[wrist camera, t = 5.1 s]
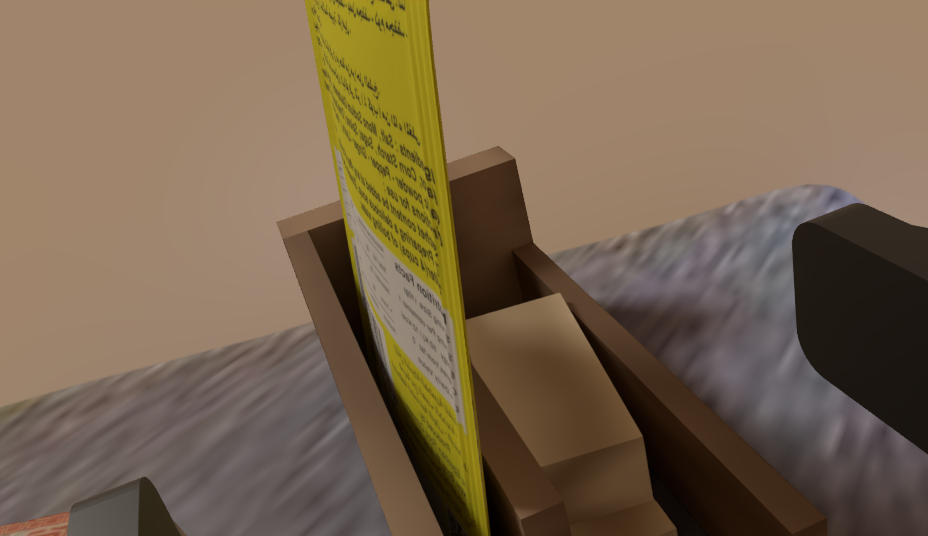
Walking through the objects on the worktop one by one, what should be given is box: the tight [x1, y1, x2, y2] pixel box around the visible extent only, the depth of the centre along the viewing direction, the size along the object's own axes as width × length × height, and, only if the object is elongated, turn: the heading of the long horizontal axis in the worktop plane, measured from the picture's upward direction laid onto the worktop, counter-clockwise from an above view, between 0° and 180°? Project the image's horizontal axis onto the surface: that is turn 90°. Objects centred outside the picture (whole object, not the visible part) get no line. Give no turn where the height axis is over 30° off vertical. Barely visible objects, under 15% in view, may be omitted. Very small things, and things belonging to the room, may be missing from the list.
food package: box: [305, 0, 491, 536], centre depth 24 cm, size 15×1×20 cm, turn 18°
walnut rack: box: [277, 146, 827, 536], centre depth 29 cm, size 10×21×8 cm, turn 19°
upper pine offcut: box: [466, 293, 653, 526], centre depth 29 cm, size 4×9×2 cm, turn 10°
